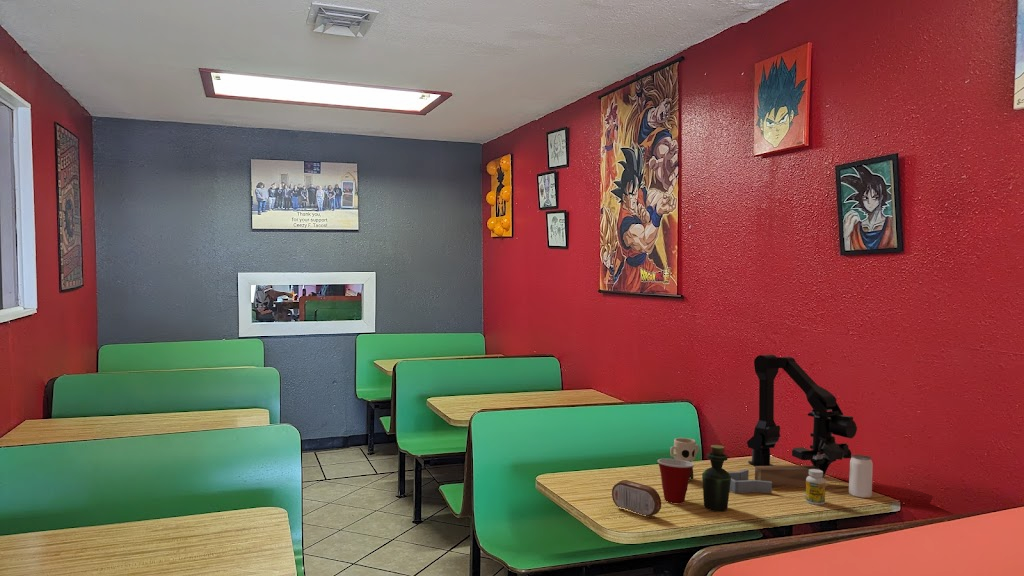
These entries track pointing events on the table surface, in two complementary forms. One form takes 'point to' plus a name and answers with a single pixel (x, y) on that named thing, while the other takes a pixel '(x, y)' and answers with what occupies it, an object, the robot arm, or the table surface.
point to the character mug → (685, 450)
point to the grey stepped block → (748, 483)
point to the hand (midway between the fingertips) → (820, 478)
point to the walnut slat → (784, 475)
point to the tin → (636, 497)
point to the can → (860, 476)
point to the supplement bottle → (815, 487)
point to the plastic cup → (675, 478)
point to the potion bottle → (716, 481)
